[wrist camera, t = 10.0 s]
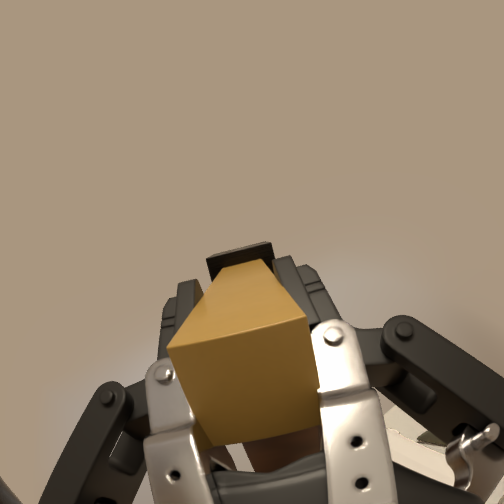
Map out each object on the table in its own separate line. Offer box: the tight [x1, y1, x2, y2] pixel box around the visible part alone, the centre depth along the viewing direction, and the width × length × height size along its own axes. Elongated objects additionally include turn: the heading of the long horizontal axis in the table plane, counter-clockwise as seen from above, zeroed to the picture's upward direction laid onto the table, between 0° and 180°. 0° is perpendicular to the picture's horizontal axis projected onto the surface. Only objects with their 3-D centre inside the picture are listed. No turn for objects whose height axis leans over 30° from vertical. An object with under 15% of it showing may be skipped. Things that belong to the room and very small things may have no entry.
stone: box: [417, 431, 446, 445], centre depth 28 cm, size 13×2×5 cm, turn 38°
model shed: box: [386, 428, 455, 486], centre depth 23 cm, size 25×15×7 cm, turn 23°
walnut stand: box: [242, 425, 319, 473], centre depth 22 cm, size 7×13×36 cm, turn 2°
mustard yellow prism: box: [167, 241, 321, 446], centre depth 15 cm, size 5×20×4 cm, turn 2°
